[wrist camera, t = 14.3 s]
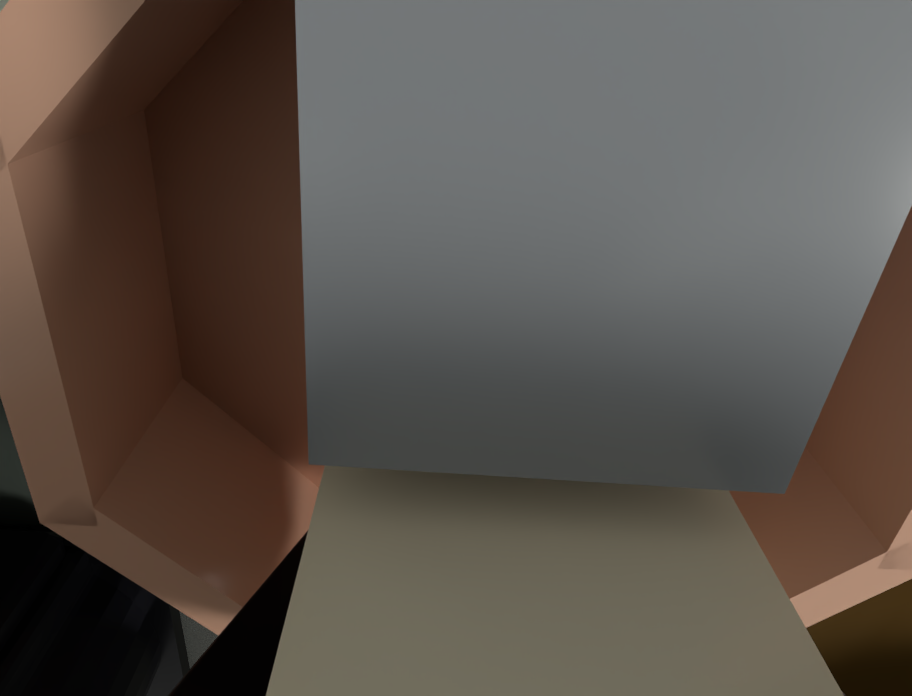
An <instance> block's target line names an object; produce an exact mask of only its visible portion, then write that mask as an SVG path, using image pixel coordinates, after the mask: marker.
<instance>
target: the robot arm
mask: <svg viewBox="0 0 912 696" xmlns="http://www.w3.org/2000/svg"><path fill="white" fill-rule="evenodd" d="M307 533H308V531H307V532H306V533H305V534H304V535H303V537H302V538H301V539H300V540H299V541H298V542H297V544H296V545H295V546H294V547H293V548H292V550H291V551H290V552H289V553H288V554H287V555H286V557H285V558H284V559H283V560H282V561H281V563H280V564H279V565H278V566H277V567H276V568H275V570H274V571H273V572H272V573H271V574H270V576H269V577H268V578H267V579H266V580H265V581H264V583H263V584H262V585H261V586H260V587H259V589H258V590H257V591H256V592H255V593H254V594H253V596H252V597H251V598H250V599H249V600H248V602H247V603H246V604H245V605H244V606H243V607H242V609H241V610H240V611H239V612H238V613H237V615H236V616H235V617H234V618H233V619H232V620H231V622H230V623H229V624H228V625H227V626H226V627H225V629H224V630H223V631H222V632H221V633H220V635H219V636H218V637H217V638H216V639H215V640H214V642H213V643H212V644H211V645H210V646H209V648H208V649H207V650H206V651H205V652H204V653H203V655H202V656H201V657H200V658H199V659H198V661H197V662H196V663H195V664H194V665H193V666H192V668H191V669H190V667H189V662H188V657H187V651H186V646H185V640H184V635H183V629H182V624H181V618H180V613H179V610H177V609H176V608H174V607H173V606H171V605H169V604H168V603H166V602H165V601H163V600H162V599H160V598H158V597H157V596H155V595H154V594H152V593H150V592H149V591H147V590H146V589H144V588H143V587H141V586H139V585H138V584H136V583H135V582H133V581H131V580H130V579H128V578H127V577H125V576H124V575H122V574H120V573H119V572H117V571H116V570H114V569H112V568H111V567H109V566H108V565H106V564H105V563H103V562H101V561H100V560H98V559H97V558H95V557H93V556H92V555H90V554H89V553H87V552H86V551H84V550H82V549H81V548H79V547H78V546H76V545H74V544H73V543H71V542H70V541H68V540H67V539H65V538H63V537H62V536H60V535H59V534H57V533H55V532H54V531H52V530H51V529H49V528H48V527H41V526H23V525H4V524H0V696H266V693H267V689H268V685H269V681H270V677H271V673H272V669H273V666H274V662H275V658H276V654H277V650H278V646H279V642H280V638H281V634H282V630H283V627H284V623H285V619H286V615H287V611H288V607H289V603H290V599H291V595H292V592H293V588H294V584H295V580H296V576H297V572H298V568H299V564H300V560H301V556H302V553H303V549H304V545H305V541H306V537H307ZM842 693H843V692H842ZM843 695H844V696H846V695H845V694H844V693H843Z"/></svg>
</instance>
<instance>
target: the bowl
mask: <svg viewBox="0 0 912 696" xmlns="http://www.w3.org/2000/svg"><path fill="white" fill-rule="evenodd" d="M0 396H1V400H2V403H3V406H4V409H5V413H6V416H7V419H8V422H9V425H10V429H11V432H12V435H13V438H14V442H15V445H16V448H17V451H18V455H19V458H20V461H21V464H22V467H23V471H24V474H25V477H26V480H27V484H28V487H29V490H30V493H31V496H32V500H33V503H34V506H35V509H36V513H37V516H38V519H39V522H40V523H41V524H43V525H44V526H46V527H48V528H49V529H51V530H52V531H54V532H55V533H57V534H59V535H60V536H62V537H63V538H65V539H67V540H68V541H70V542H71V543H73V544H74V545H76V546H78V547H79V548H81V549H82V550H84V551H86V552H87V553H89V554H90V555H92V556H93V557H95V558H97V559H98V560H100V561H101V562H103V563H105V564H106V565H108V566H109V567H111V568H112V569H114V570H116V571H117V572H119V573H120V574H122V575H124V576H125V577H127V578H128V579H130V580H131V581H133V582H135V583H136V584H138V585H139V586H141V587H143V588H144V589H146V590H147V591H149V592H150V593H152V594H154V595H155V596H157V597H158V598H160V599H162V600H163V601H165V602H166V603H168V604H169V605H171V606H173V607H174V608H176V609H177V610H179V611H181V612H182V613H184V614H185V615H187V616H188V617H190V618H192V619H193V620H195V621H196V622H198V623H200V624H201V625H203V626H204V627H206V628H207V629H209V630H211V631H212V632H214V633H215V634H217V635H220V633H221V632H222V631H223V630H224V629H225V627H226V626H227V625H228V624H229V623H230V622H231V620H232V619H233V618H234V617H235V616H236V615H237V613H238V612H239V611H240V610H241V609H242V607H243V606H244V605H245V604H246V603H247V602H248V600H249V599H250V598H251V597H252V596H253V594H254V593H255V592H256V591H257V590H258V589H259V587H260V586H261V585H262V584H263V583H264V581H265V580H266V579H267V578H268V577H269V576H270V574H271V573H272V572H273V571H274V570H275V568H276V567H277V566H278V565H279V564H280V563H281V561H282V560H283V559H284V558H285V557H286V555H287V554H288V553H289V552H290V551H291V550H292V548H293V547H294V546H295V545H296V544H297V542H298V541H299V540H300V539H301V538H302V537H303V535H304V534H305V533H306V532H307V531H308V529H309V525H310V521H311V518H312V514H313V510H314V506H315V502H316V498H317V494H318V490H319V486H320V482H321V479H322V475H323V471H324V467H325V465H309V460H308V426H307V392H306V358H305V324H304V291H303V257H302V223H301V189H300V155H299V121H298V88H297V54H296V20H295V0H9V1H8V2H7V4H6V5H5V6H4V8H3V9H2V10H1V12H0ZM729 492H730V494H731V496H732V498H733V499H734V501H735V503H736V505H737V506H738V508H739V510H740V512H741V514H742V515H743V517H744V519H745V521H746V522H747V524H748V526H749V528H750V530H751V531H752V533H753V535H754V537H755V538H756V540H757V542H758V544H759V546H760V547H761V549H762V551H763V553H764V554H765V556H766V558H767V560H768V562H769V563H770V565H771V567H772V569H773V570H774V572H775V574H776V576H777V578H778V579H779V581H780V583H781V585H782V586H783V588H784V590H785V592H786V594H787V595H788V597H789V599H790V601H791V602H792V604H793V606H794V608H795V610H796V611H797V613H798V615H799V617H800V618H801V620H802V622H803V624H804V626H805V627H809V626H811V625H813V624H815V623H817V622H819V621H822V620H824V619H826V618H828V617H830V616H832V615H834V614H837V613H839V612H841V611H843V610H845V609H847V608H850V607H852V606H854V605H856V604H858V603H860V602H862V601H865V600H867V599H869V598H871V597H873V596H875V595H877V594H880V593H882V592H884V591H886V590H888V589H890V588H893V587H895V586H897V585H899V584H901V583H903V582H905V581H908V580H910V579H912V206H911V208H910V211H909V213H908V215H907V218H906V220H905V222H904V224H903V227H902V229H901V231H900V233H899V236H898V238H897V240H896V242H895V245H894V247H893V249H892V252H891V254H890V256H889V258H888V261H887V263H886V265H885V267H884V270H883V272H882V274H881V276H880V279H879V281H878V283H877V286H876V288H875V290H874V292H873V295H872V297H871V299H870V301H869V304H868V306H867V308H866V310H865V313H864V315H863V317H862V320H861V322H860V324H859V326H858V329H857V331H856V333H855V335H854V338H853V340H852V342H851V344H850V347H849V349H848V351H847V354H846V356H845V358H844V360H843V363H842V365H841V367H840V369H839V372H838V374H837V376H836V378H835V381H834V383H833V385H832V388H831V390H830V392H829V394H828V397H827V399H826V401H825V403H824V406H823V408H822V410H821V412H820V415H819V417H818V419H817V422H816V424H815V426H814V428H813V431H812V433H811V435H810V437H809V440H808V442H807V444H806V446H805V449H804V451H803V453H802V456H801V458H800V460H799V462H798V465H797V467H796V469H795V471H794V474H793V476H792V478H791V480H790V483H789V485H788V487H787V490H786V492H785V494H777V493H761V492H745V491H729Z"/></svg>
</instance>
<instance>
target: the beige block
mask: <svg viewBox="0 0 912 696" xmlns="http://www.w3.org/2000/svg"><path fill="white" fill-rule="evenodd" d="M266 696H844V695H843V693H842V691H841V690H840V688H839V686H838V684H837V682H836V681H835V679H834V677H833V675H832V674H831V672H830V670H829V668H828V666H827V665H826V663H825V661H824V659H823V658H822V656H821V654H820V652H819V650H818V649H817V647H816V645H815V643H814V642H813V640H812V638H811V636H810V634H809V633H808V631H807V629H806V627H805V626H804V624H803V622H802V620H801V618H800V617H799V615H798V613H797V611H796V610H795V608H794V606H793V604H792V602H791V601H790V599H789V597H788V595H787V594H786V592H785V590H784V588H783V586H782V585H781V583H780V581H779V579H778V578H777V576H776V574H775V572H774V570H773V569H772V567H771V565H770V563H769V562H768V560H767V558H766V556H765V554H764V553H763V551H762V549H761V547H760V546H759V544H758V542H757V540H756V538H755V537H754V535H753V533H752V531H751V530H750V528H749V526H748V524H747V522H746V521H745V519H744V517H743V515H742V514H741V512H740V510H739V508H738V506H737V505H736V503H735V501H734V499H733V498H732V496H731V494H730V492H729V491H728V490H712V489H696V488H680V487H664V486H648V485H632V484H615V483H599V482H583V481H567V480H551V479H535V478H519V477H502V476H486V475H470V474H454V473H438V472H422V471H406V470H389V469H373V468H357V467H341V466H325V467H324V471H323V475H322V479H321V482H320V486H319V490H318V494H317V498H316V502H315V506H314V510H313V514H312V518H311V521H310V525H309V529H308V533H307V537H306V541H305V545H304V549H303V553H302V556H301V560H300V564H299V568H298V572H297V576H296V580H295V584H294V588H293V592H292V595H291V599H290V603H289V607H288V611H287V615H286V619H285V623H284V627H283V630H282V634H281V638H280V642H279V646H278V650H277V654H276V658H275V662H274V666H273V669H272V673H271V677H270V681H269V685H268V689H267V693H266Z"/></svg>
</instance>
